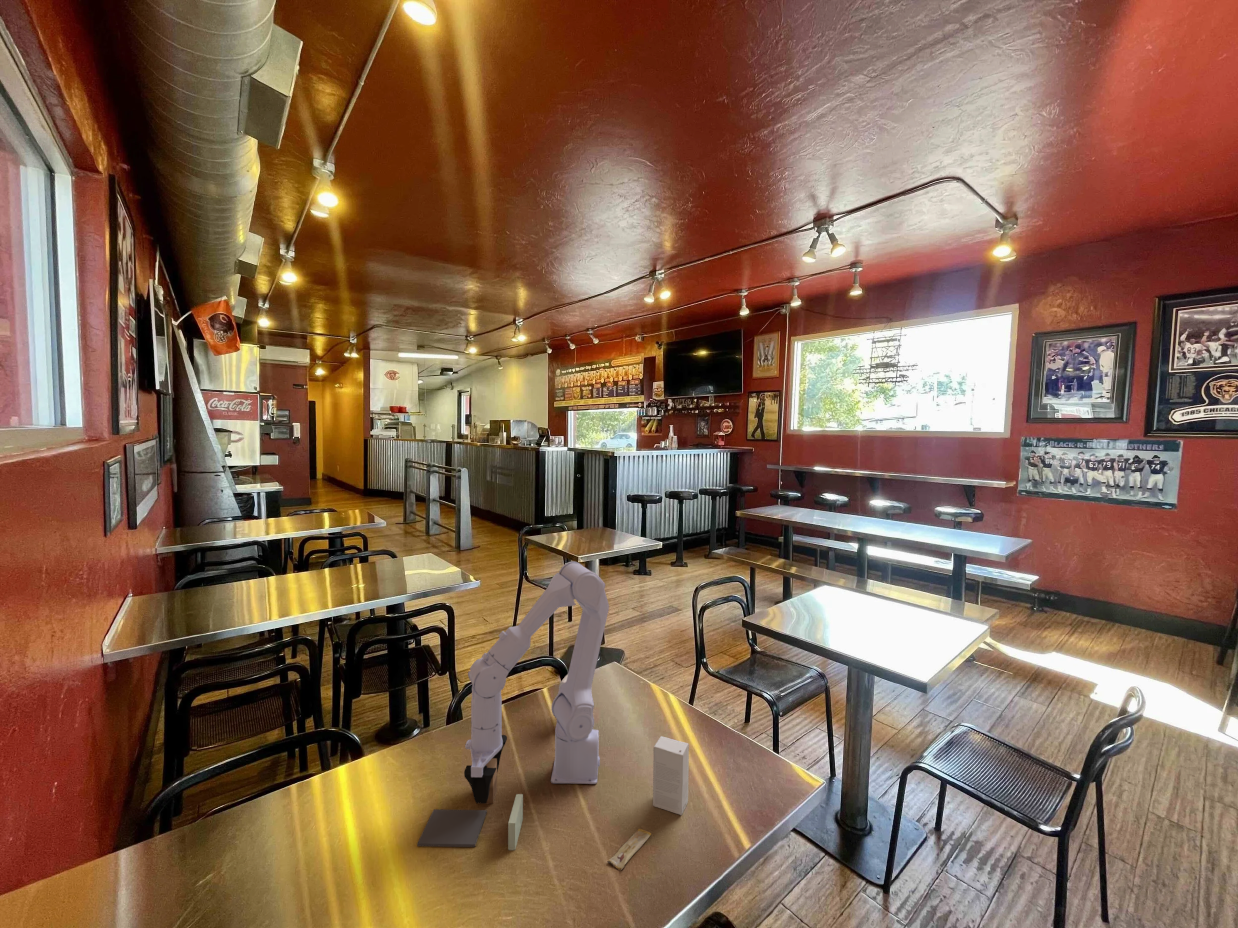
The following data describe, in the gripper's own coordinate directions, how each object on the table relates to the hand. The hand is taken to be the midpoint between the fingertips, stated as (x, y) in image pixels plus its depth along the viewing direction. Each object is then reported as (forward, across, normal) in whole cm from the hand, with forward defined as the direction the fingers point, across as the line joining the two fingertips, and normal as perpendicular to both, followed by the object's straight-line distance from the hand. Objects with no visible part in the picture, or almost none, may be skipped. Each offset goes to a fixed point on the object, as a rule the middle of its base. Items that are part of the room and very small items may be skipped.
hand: (486, 787), depth 101 cm
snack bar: (+3, +12, +28) cm, 31 cm away
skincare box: (+2, +1, +36) cm, 36 cm away
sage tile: (+2, +9, +8) cm, 12 cm away
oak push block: (+2, 0, 0) cm, 2 cm away
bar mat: (+2, +8, -4) cm, 9 cm away
